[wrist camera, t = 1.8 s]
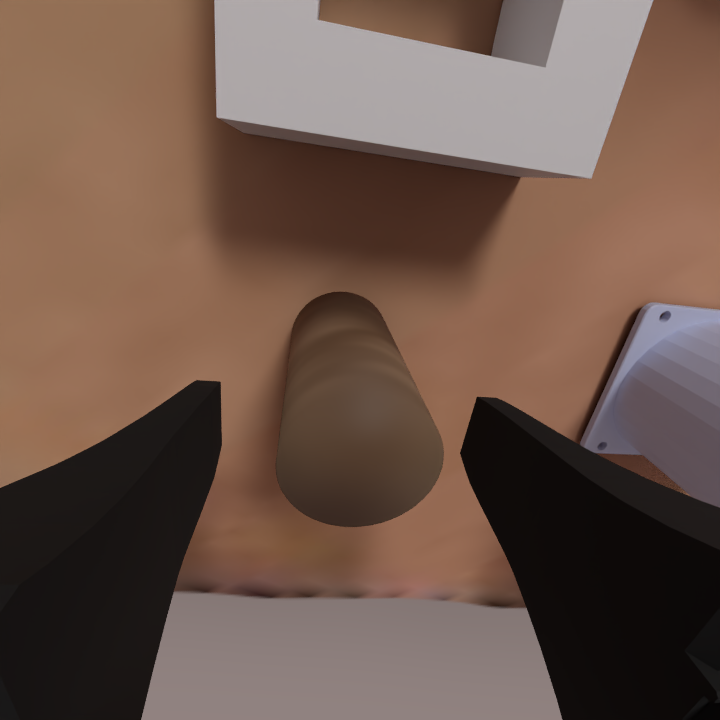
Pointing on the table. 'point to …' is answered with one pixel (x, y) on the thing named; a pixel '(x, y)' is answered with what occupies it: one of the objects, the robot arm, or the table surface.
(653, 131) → the table surface
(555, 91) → the hole block
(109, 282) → the table surface
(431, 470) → the brown rounded cylinder
